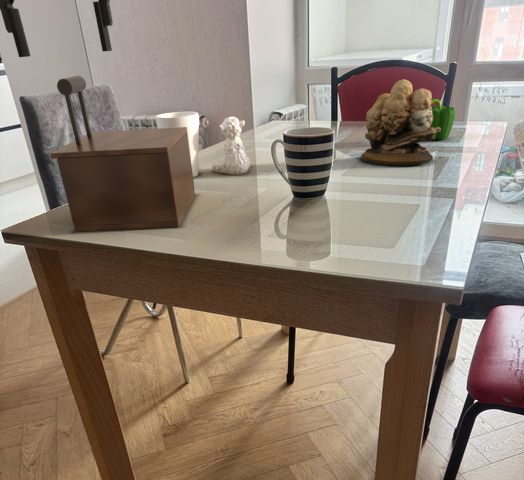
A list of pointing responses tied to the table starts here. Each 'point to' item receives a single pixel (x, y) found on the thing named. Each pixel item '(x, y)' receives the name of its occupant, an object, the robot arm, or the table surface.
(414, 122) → the owl figurine
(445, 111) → the bell pepper
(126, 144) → the bin lid
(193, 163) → the foam cup
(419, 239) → the table surface
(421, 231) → the table surface
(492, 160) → the table surface
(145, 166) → the bin
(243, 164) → the white creature statuette
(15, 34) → the robot arm
